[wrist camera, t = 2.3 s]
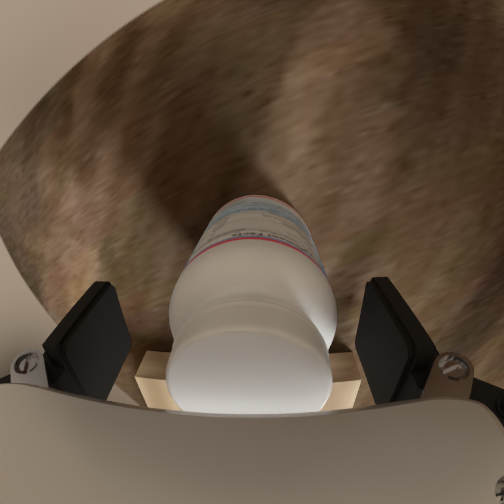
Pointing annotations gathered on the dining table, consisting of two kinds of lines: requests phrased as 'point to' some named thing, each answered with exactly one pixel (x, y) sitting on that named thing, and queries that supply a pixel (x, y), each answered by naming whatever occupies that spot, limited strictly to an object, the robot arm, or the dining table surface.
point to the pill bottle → (252, 316)
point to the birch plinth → (158, 396)
